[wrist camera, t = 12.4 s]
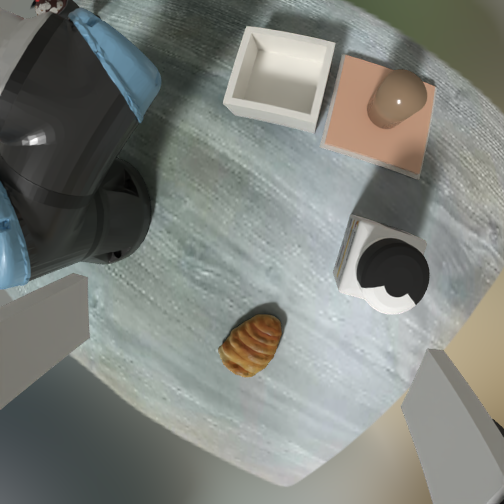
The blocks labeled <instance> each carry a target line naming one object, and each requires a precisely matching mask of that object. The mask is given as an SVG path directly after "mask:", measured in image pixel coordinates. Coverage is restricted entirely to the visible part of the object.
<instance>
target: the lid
mask: <svg viewBox="0 0 504 504" xmlns="http://www.w3.org/2000/svg"><path fill="white" fill-rule="evenodd" d="M434 93H435V86H433V85H430V84H428V83H425V82H423V81H422V80H421V79H420V78H419V77H418V76H417V75H416V74H414V73H412V72H410V71H408V70H403V69H398V70H392V69H389V68H386V67H383V66H380V65H377V64H374V63H371V62H368V61H365V60H362V59H358V58H355V57H351V56H348V55H345V59H344V63H343V68H342V72H341V77H340V81H339V86H338V90H337V94H336V99H335V103H334V107H333V111H332V116H331V120H330V124H329V128H328V132H327V136H326V140H325V144H326V145H330V146H333V147H336V148H340V149H343V150H346V151H350V152H353V153H356V154H359V155H362V156H366V157H369V158H372V159H375V160H378V161H381V162H384V163H386V164H389V165H392V166H395V167H398V168H401V169H403V170H406V171H409V172H411V173H414V174H419V173H420V169H421V165H422V160H423V155H424V151H425V146H426V141H427V135H428V130H429V124H430V119H431V113H432V106H433V100H434Z"/></svg>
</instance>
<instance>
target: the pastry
mask: <svg viewBox="0 0 504 504" xmlns="http://www.w3.org/2000/svg"><path fill="white" fill-rule="evenodd" d="M281 335H282V331H281V322H280V320H278V319H277V318H276V317H274V316H272V315H267V314H258V315H256V316H254V317H252V318H251V319H250V320H247V321H245V322H244V323H242V324H241V325H239V326H238V327H237V328H235V329H233V330H232V331H231V334H230V336H229V337H228V338H227V339H226V341H225V342H224V343H223V344H222V345H221V346H220V347H219V348H218V352H219V354H220V358H221V359H222V362H223V364H224V365H225V366H226V367H227V368H228V369H229V370H230V371H232V372H233V373H234V374H236V375H240V376H242V377H252V376H254V375H255V374H256V373H258V372H259V371H261V370H263V369H264V368H265V367H266V366H267V365H268V363H269V362H270V361H271V360H272V359H273V357H274V354H275V352H276V349H277V347H278V343H279V341H280V337H281Z"/></svg>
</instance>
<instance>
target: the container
mask: <svg viewBox="0 0 504 504" xmlns="http://www.w3.org/2000/svg"><path fill="white" fill-rule="evenodd" d="M426 246H427V243H426V241H425V240H423V239H421V238H419V237H417V236H415V235H412V234H410V233H408V232H406V231H403V230H400V229H397V228H394V227H391V226H388V225H385V224H382V223H379V222H376V221H373V220H369V219H366V218H363V217H360V216H357V215H350V217H349V221H348V224H347V228H346V231H345V235H344V238H343V241H342V245H341V248H340V251H339V254H338V258H337V261H336V264H335V267H334V270H333V274H334V277H335V280H336V284H337V287H338V290H339V292H340V293H343V294H347V295H350V296H354V297H357V298H361V299H365V300H366V301H367V302H368V304H369V305H370V306H371V307H372V308H374V309H375V310H376V311H379V312H381V313H384V314H400V313H403V312H406V311H408V310H410V309H411V308H413V307H414V306H415V305H416V304H417V303H418V302H419V301H420V300H421V299H422V298H423V296H424V294H425V292H426V290H427V287H428V284H429V267H428V264H427V261H426V259H425V257H424V256H423V255H424V252H425V249H426Z"/></svg>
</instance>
